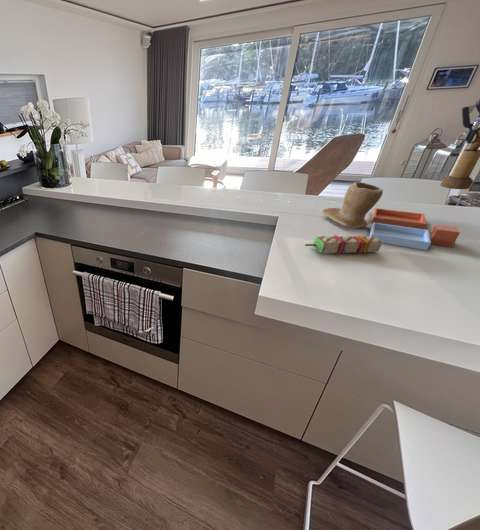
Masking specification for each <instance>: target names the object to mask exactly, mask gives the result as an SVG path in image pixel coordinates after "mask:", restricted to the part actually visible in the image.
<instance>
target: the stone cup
mask: <svg viewBox="0 0 480 530" xmlns="http://www.w3.org/2000/svg"><path fill="white" fill-rule="evenodd" d="M383 191H384V190H383V189H382V188H381V187H379V186H376V185H374V184H371V183H367V182H361V181H355V182H353V183H351V184H350V185H349V186H348V187H347V189H346V192H345V195H344V198H343V203H342V207H341V208H338V207H329V208H328V207H327V208H325V209H323V210H321V213H322V214H323V215H324V216H326V217H327V218H329V219H331V220H333V221H334V222H336V223H338V224H340V225H341V226H344V227H347V228H356V229H357V228H365V227H367V226H368V225H369V223H368V222H367V220H366V219H365V218H366V215H367V214H368V213H369V211H371V210H372V208H373V207H375V205H376V204H377V203H379V201H380V199H381V198H382V196H383V193H384V192H383Z"/></svg>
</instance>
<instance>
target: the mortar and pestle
mask: <svg viewBox="0 0 480 530" xmlns="http://www.w3.org/2000/svg"><path fill="white" fill-rule="evenodd" d="M475 136H476V137H475V139H473V140H472V142H471V143H470V148H467V149H463V151H462V153H461V155H460V156H459V159H458V161H457V163H456V165H455V167H454V169H453V171H452V173H451V175H448V176H445V177H443V179H442V181H441V183H440V187H443V188H447V189H450V190H452V189H453V190H469V189H471V187H472V185H473V184H474V180H473V179H472V177H470V176H471V175H472V173H473V171H474V170H475V167H476V165H477V163H478V161H479V159H480V149H479V148H480V126H479V127H478V128H477V132H476V134H475Z"/></svg>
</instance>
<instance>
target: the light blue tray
mask: <svg viewBox="0 0 480 530" xmlns="http://www.w3.org/2000/svg"><path fill="white" fill-rule="evenodd" d="M429 235H430V233H429V230H428V229H425V228H424V229H417V228H410V227H403V226H396V225H389V224H381V223H374V222H373V224H371V227H370V230H369V236H374V237H376V238H377V239H379V240H380V241H382V244H388V245H392V246H393V245H394V246H399V247H406V248H412V249H417V250H423V251H428V250H429V247H430V246H431V245H432V244H431V241H430V236H429Z"/></svg>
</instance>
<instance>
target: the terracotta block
mask: <svg viewBox="0 0 480 530" xmlns="http://www.w3.org/2000/svg"><path fill="white" fill-rule="evenodd" d="M460 233H461V232H460V229H459V227H458V226H453V225H445V224H439V223H435V224H434V226H433V228H432V230H431V232H430V233H429V236H430V241H431V244H430V245H437V246H443V247H448V248H452V247H453V246H454V244H455V242H456V240H457V239H458V237H459V235H460Z"/></svg>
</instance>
